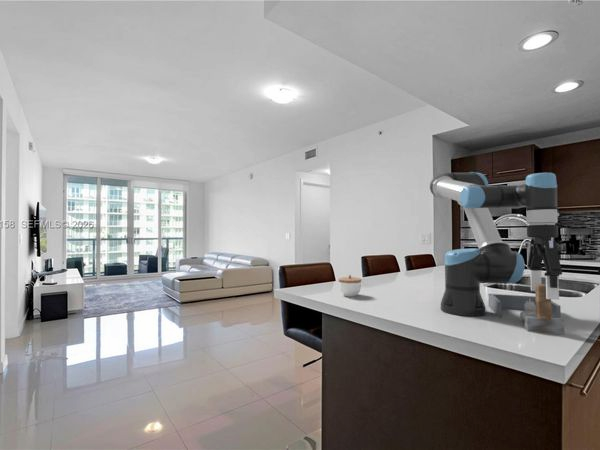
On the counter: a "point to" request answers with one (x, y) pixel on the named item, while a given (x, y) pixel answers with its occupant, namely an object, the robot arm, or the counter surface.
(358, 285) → the lidded jar
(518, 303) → the box
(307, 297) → the counter surface
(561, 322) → the scraper
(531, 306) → the rubber duck
